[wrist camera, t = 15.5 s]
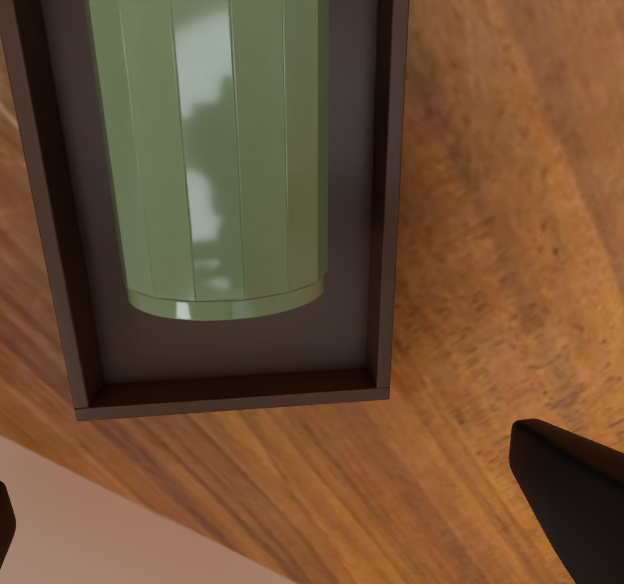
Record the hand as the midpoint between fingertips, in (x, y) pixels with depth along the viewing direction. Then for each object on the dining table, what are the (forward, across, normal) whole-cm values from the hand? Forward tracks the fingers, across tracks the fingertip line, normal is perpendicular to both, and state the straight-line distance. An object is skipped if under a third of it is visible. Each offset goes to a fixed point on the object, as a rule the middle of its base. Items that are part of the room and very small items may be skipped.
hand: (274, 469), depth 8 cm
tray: (+12, +1, -4) cm, 13 cm away
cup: (+9, +1, -1) cm, 9 cm away
